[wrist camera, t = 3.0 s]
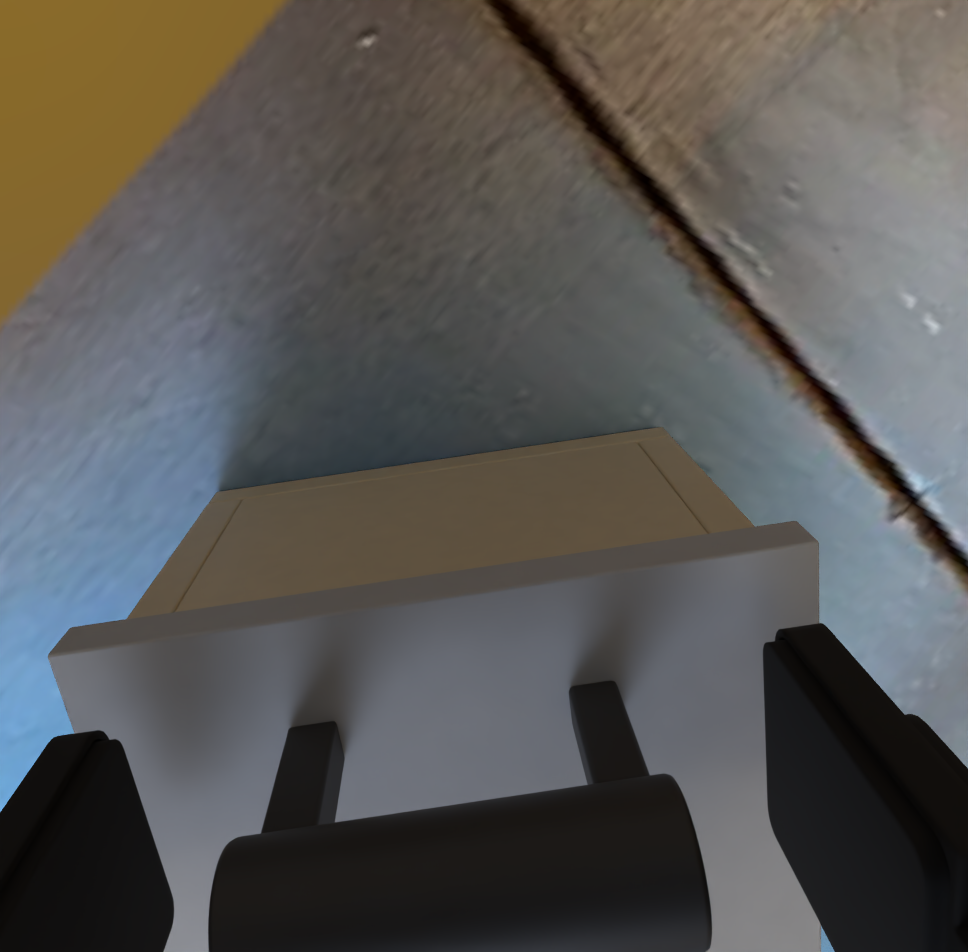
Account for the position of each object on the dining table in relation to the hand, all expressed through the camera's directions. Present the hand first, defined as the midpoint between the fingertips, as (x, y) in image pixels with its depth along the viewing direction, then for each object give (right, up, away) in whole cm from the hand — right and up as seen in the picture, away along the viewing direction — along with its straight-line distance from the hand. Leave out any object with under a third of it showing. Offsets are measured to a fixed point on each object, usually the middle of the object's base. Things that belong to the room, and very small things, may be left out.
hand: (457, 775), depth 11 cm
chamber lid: (+1, -4, +3) cm, 5 cm away
